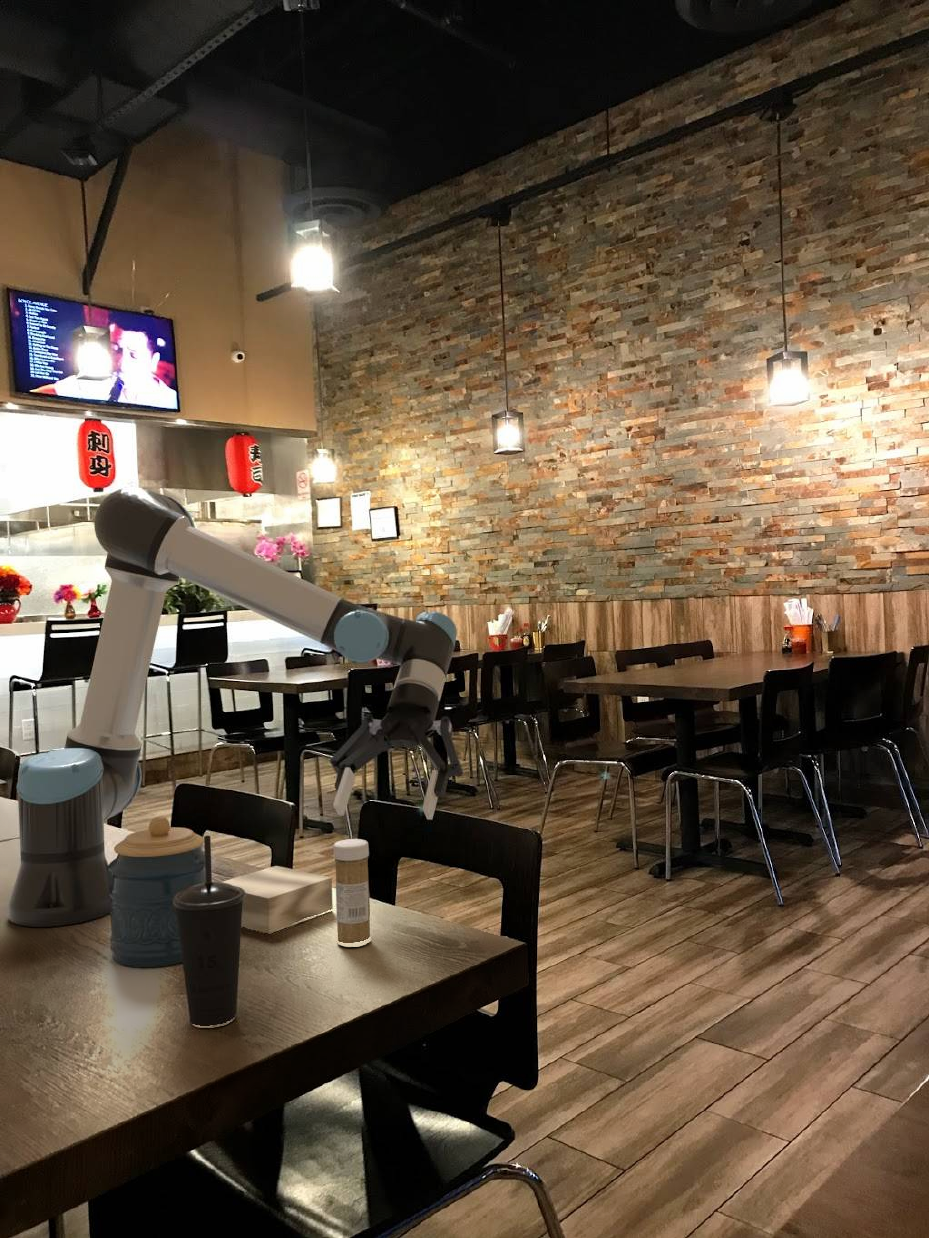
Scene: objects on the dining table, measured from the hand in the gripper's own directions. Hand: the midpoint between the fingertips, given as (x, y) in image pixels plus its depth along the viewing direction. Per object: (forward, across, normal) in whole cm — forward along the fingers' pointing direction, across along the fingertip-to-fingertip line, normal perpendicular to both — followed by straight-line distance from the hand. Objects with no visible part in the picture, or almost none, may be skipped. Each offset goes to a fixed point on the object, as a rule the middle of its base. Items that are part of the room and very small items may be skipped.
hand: (382, 812), depth 140 cm
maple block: (+12, +16, -9) cm, 22 cm away
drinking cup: (+36, +5, +15) cm, 40 cm away
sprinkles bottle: (+18, 0, -3) cm, 19 cm away
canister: (+24, +24, +3) cm, 34 cm away
